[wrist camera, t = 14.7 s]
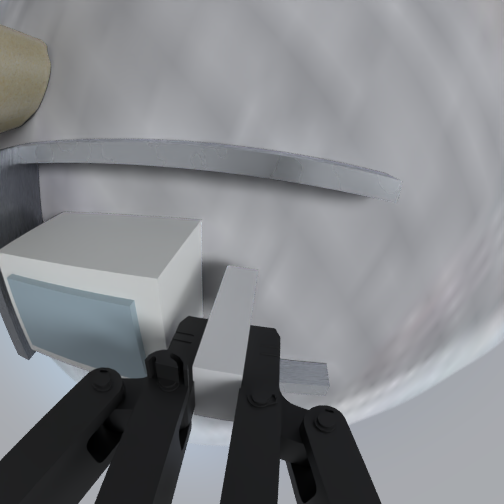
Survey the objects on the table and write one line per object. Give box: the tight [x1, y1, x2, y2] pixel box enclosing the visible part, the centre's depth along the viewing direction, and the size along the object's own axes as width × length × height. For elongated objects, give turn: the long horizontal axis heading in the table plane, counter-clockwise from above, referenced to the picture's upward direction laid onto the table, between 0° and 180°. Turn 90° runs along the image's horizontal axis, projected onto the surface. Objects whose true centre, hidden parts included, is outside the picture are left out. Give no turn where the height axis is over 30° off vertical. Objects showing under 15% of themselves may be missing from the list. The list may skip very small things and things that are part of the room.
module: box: [0, 212, 203, 378], centre depth 13 cm, size 6×9×6 cm, turn 86°
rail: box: [0, 139, 403, 396], centre depth 13 cm, size 13×21×5 cm, turn 83°
